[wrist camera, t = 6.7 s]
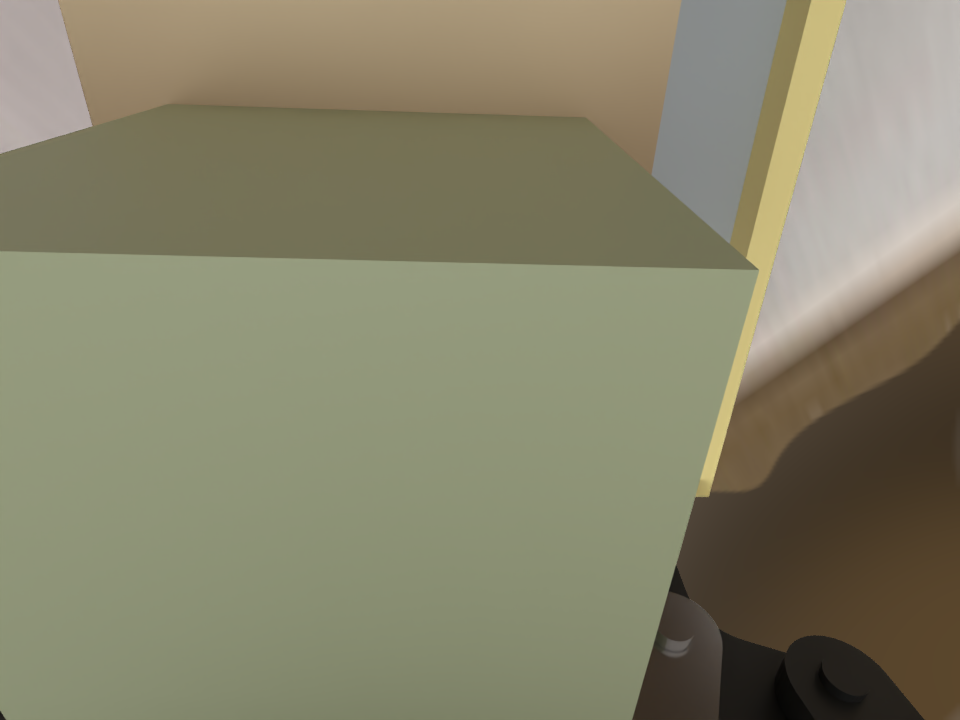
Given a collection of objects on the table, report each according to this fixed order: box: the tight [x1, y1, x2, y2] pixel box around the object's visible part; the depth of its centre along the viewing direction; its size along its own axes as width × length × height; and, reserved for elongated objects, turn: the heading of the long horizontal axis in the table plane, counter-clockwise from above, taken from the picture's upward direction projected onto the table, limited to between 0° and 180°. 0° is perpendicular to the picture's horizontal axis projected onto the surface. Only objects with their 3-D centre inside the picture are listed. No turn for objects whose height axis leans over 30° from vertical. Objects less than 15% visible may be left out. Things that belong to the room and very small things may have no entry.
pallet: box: [58, 0, 682, 175], centre depth 10 cm, size 19×6×4 cm, turn 178°
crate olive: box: [0, 104, 759, 720], centre depth 5 cm, size 4×4×4 cm
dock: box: [652, 0, 846, 497], centre depth 23 cm, size 22×11×6 cm, turn 179°
